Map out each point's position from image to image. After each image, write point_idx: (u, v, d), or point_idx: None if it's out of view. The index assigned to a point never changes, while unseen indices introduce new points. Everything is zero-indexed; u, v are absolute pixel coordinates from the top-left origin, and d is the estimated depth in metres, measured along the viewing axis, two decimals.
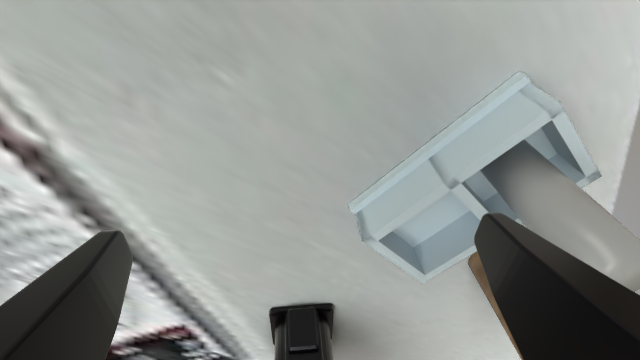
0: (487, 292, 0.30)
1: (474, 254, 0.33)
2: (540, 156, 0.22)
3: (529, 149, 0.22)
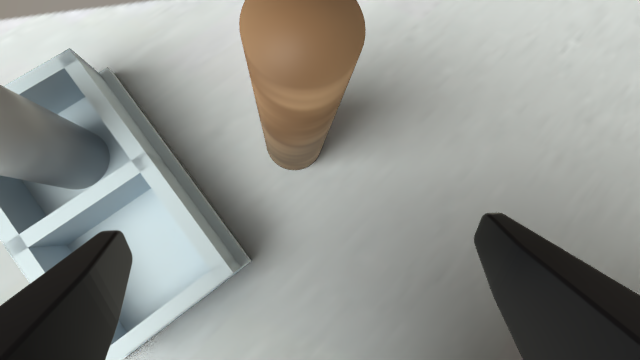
0: (291, 157, 0.19)
1: (277, 163, 0.22)
2: None
3: None
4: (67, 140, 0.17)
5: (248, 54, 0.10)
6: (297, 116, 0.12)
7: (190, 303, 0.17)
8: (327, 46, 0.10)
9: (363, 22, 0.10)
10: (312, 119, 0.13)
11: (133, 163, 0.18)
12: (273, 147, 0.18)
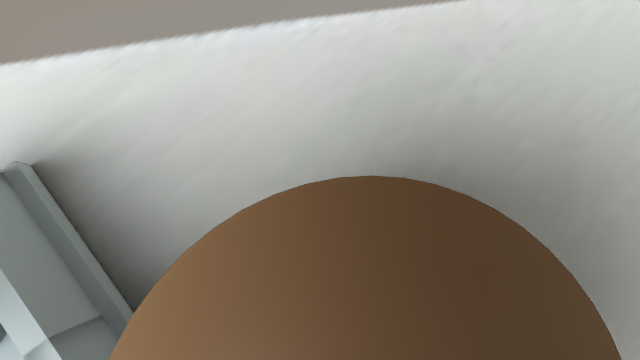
0: None
1: None
2: None
3: None
4: None
5: None
6: None
7: None
8: None
9: None
10: None
11: None
12: None
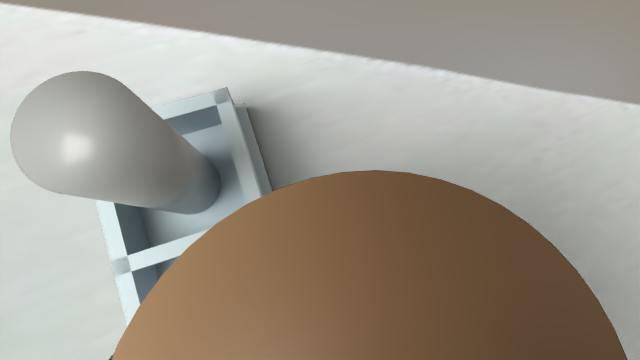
0: None
1: None
2: None
3: None
4: (202, 183, 0.17)
5: None
6: None
7: None
8: None
9: None
10: None
11: None
12: None
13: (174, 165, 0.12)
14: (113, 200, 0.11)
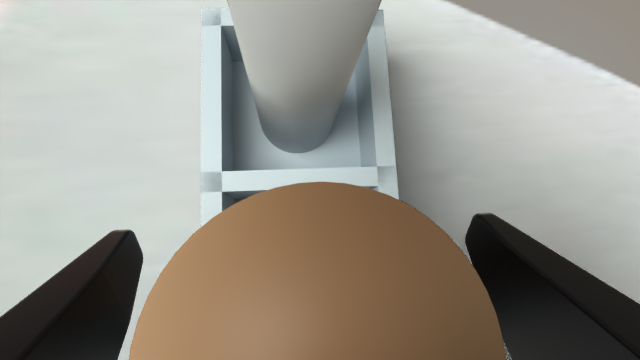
0: None
1: None
2: None
3: None
4: (338, 108, 0.13)
5: None
6: None
7: None
8: None
9: (499, 340, 0.03)
10: None
11: (377, 172, 0.14)
12: None
13: (362, 47, 0.09)
14: (288, 60, 0.08)
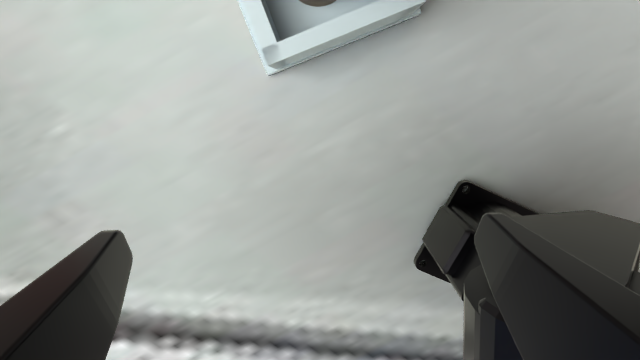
0: None
1: (306, 3, 0.18)
2: None
3: None
4: None
5: None
6: None
7: (373, 20, 0.16)
8: None
9: None
10: None
11: None
12: None
13: None
14: None
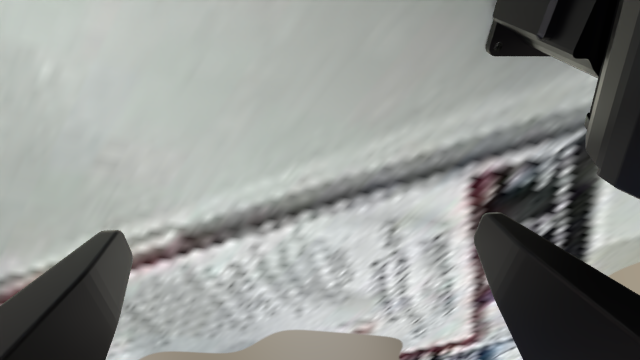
0: None
1: None
2: None
3: None
4: None
5: None
6: None
7: None
8: None
9: None
10: None
11: None
12: None
13: None
14: None
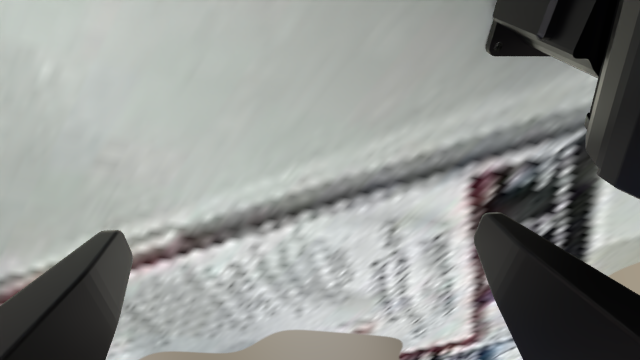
0: None
1: None
2: None
3: None
4: None
5: None
6: None
7: None
8: None
9: None
10: None
11: None
12: None
13: None
14: None
